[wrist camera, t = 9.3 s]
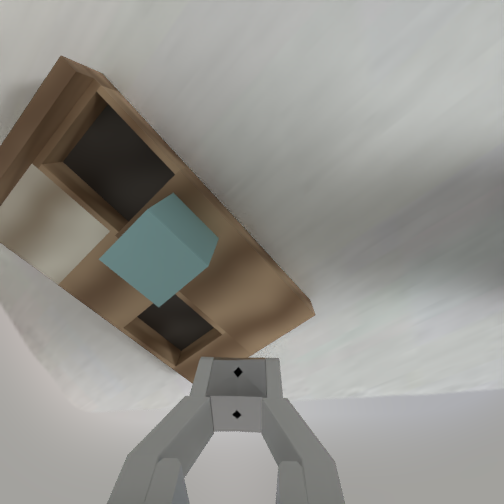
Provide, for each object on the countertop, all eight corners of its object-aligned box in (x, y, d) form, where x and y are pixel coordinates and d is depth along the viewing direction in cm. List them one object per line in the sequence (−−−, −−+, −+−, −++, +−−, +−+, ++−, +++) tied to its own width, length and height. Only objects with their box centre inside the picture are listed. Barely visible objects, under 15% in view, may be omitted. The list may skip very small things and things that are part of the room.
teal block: (218, 238, 21) (208, 266, 16) (178, 272, 22) (158, 307, 17) (173, 192, 19) (147, 209, 14) (133, 232, 20) (98, 259, 16)
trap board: (310, 300, 26) (319, 328, 22) (203, 370, 30) (195, 403, 26) (102, 73, 18) (60, 55, 14) (-2, 213, 22) (-55, 228, 19)
